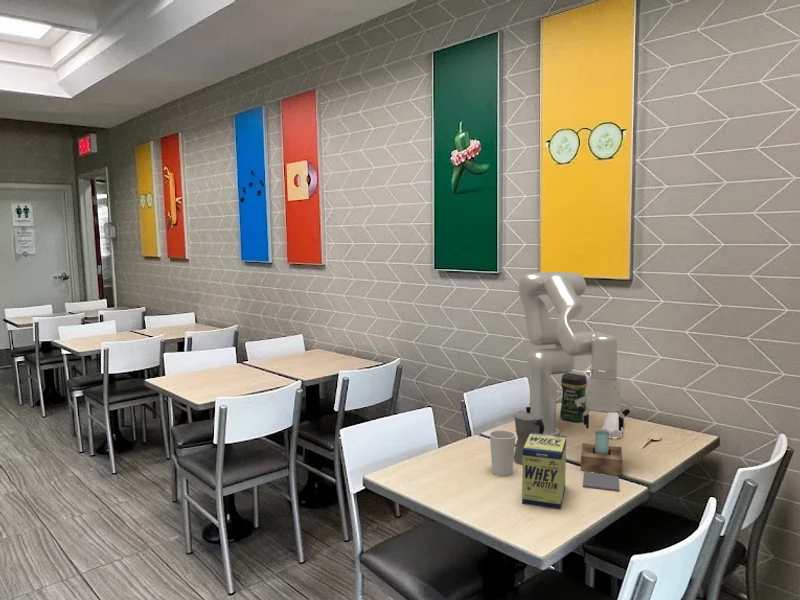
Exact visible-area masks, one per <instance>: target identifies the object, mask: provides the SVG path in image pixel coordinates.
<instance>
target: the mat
mask: <svg viewBox="0 0 800 600" xmlns="http://www.w3.org/2000/svg"><path fill="white" fill-rule="evenodd" d="M619 477H620V476H616V475H607V474H599V473H590V472H583V477H582V480H583V481H582V488H587V489H594V490H595V489H596V490H602V491H603V490H604V491H611V492H612V491H613V492H620V479H619Z"/></svg>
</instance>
